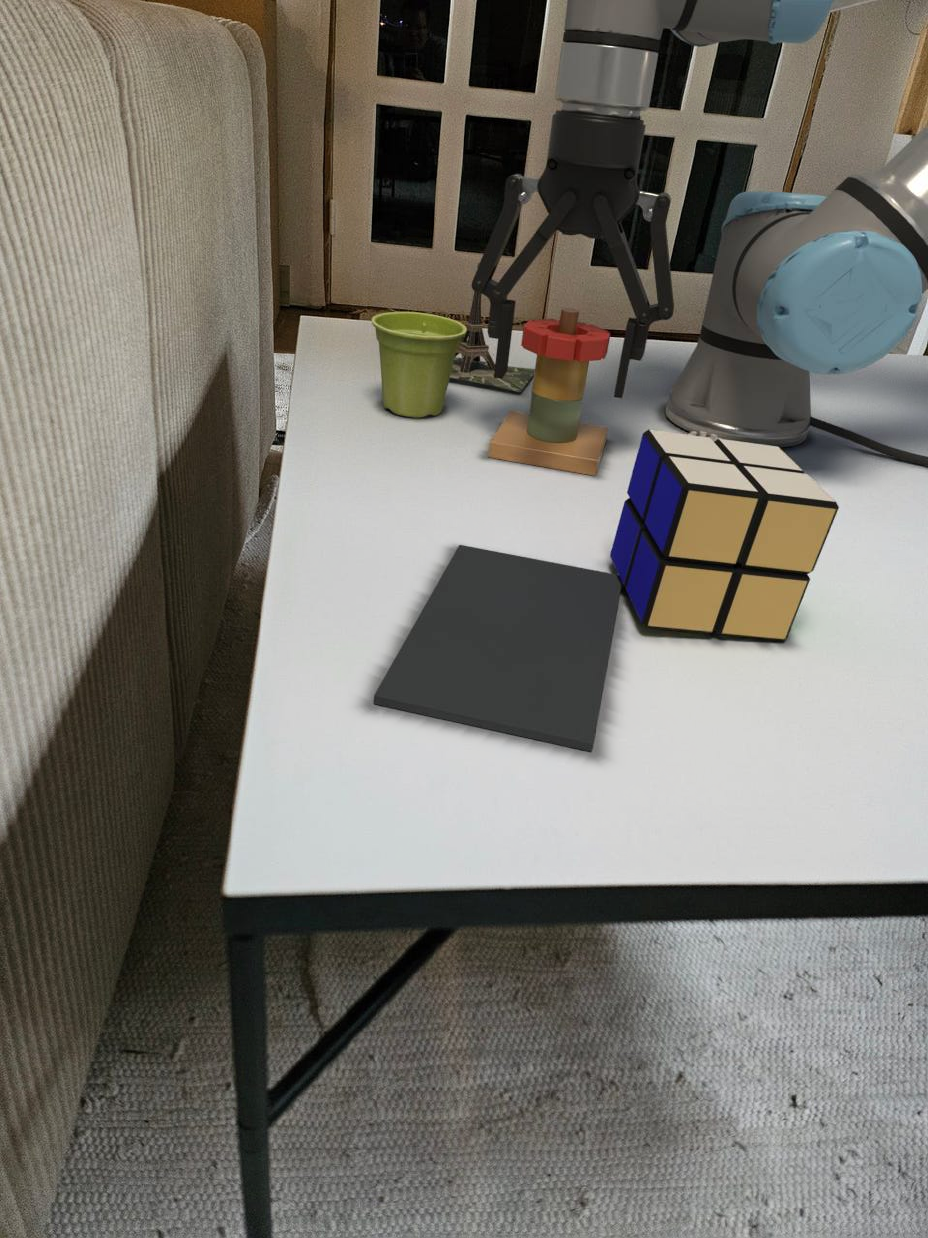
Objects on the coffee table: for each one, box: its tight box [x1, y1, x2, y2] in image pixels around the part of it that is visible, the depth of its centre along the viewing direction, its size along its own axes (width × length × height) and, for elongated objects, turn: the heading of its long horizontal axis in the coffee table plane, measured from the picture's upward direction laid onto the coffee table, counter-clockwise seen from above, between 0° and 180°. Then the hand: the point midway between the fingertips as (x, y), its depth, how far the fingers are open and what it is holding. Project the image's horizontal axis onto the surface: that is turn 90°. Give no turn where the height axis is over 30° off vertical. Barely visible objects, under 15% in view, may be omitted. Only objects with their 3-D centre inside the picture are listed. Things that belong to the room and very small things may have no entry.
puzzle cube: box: [609, 429, 840, 642], centre depth 60 cm, size 10×10×10 cm
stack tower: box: [487, 307, 609, 477], centre depth 84 cm, size 10×10×13 cm
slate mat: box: [373, 544, 623, 752], centre depth 57 cm, size 12×20×1 cm, turn 167°
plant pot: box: [371, 311, 467, 419], centre depth 91 cm, size 9×9×9 cm
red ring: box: [520, 318, 611, 362], centre depth 82 cm, size 8×8×2 cm
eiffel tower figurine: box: [450, 252, 535, 393], centre depth 103 cm, size 15×10×13 cm
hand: (559, 384), depth 84 cm, fingers open, 10 cm apart
